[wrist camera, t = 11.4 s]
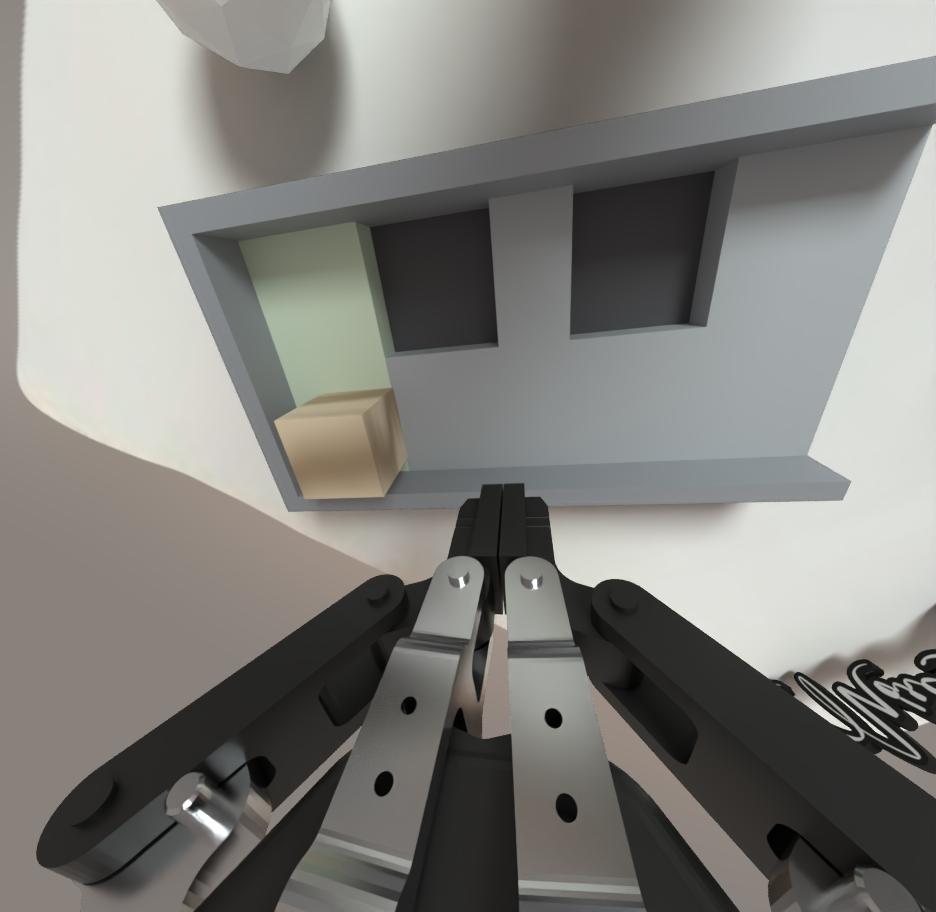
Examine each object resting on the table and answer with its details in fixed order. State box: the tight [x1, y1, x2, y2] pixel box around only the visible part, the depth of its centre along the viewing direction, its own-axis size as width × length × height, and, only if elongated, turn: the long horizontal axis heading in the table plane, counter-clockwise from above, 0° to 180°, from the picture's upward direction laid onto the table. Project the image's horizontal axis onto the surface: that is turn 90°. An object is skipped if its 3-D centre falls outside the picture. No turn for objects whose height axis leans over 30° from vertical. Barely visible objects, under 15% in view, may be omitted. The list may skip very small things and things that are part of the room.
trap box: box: [157, 56, 936, 512], centre depth 19 cm, size 17×33×6 cm, turn 96°
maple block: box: [274, 388, 408, 499], centre depth 21 cm, size 5×5×5 cm
